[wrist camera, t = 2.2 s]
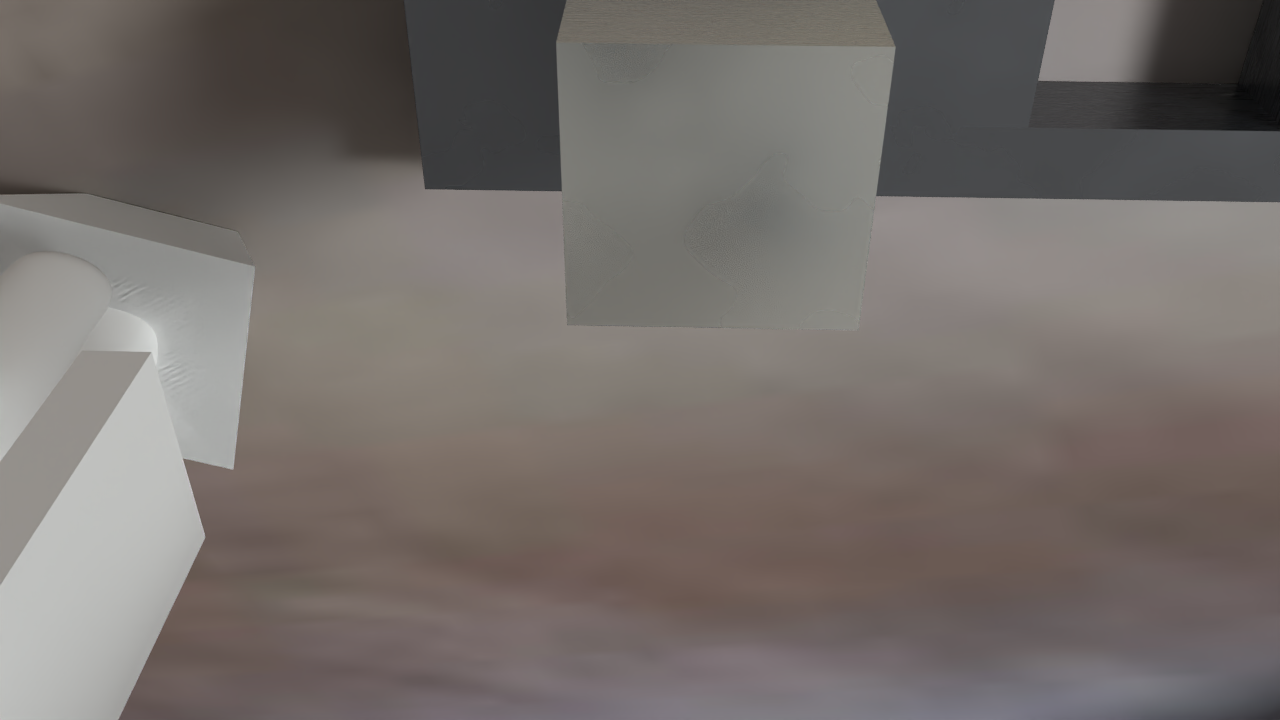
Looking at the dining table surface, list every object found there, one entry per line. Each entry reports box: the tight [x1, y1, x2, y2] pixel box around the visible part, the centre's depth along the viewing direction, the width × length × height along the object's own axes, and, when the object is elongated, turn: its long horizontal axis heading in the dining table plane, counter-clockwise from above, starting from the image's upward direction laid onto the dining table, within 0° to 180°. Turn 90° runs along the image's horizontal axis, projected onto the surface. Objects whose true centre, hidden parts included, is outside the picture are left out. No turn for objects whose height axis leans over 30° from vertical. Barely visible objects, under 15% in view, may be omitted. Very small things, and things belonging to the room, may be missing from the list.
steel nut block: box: [556, 0, 896, 330], centre depth 24 cm, size 5×5×13 cm
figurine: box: [0, 193, 255, 469], centre depth 29 cm, size 7×9×15 cm
